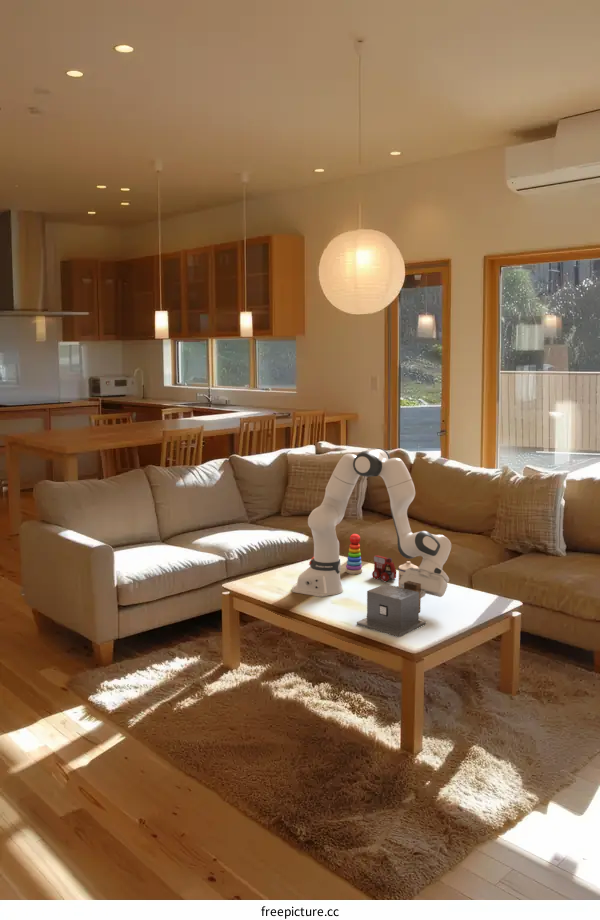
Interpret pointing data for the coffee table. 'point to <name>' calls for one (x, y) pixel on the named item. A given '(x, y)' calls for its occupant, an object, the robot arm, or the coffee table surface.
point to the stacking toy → (354, 556)
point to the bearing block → (392, 610)
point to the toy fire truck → (383, 568)
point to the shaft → (409, 586)
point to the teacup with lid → (404, 567)
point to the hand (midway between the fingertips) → (415, 600)
